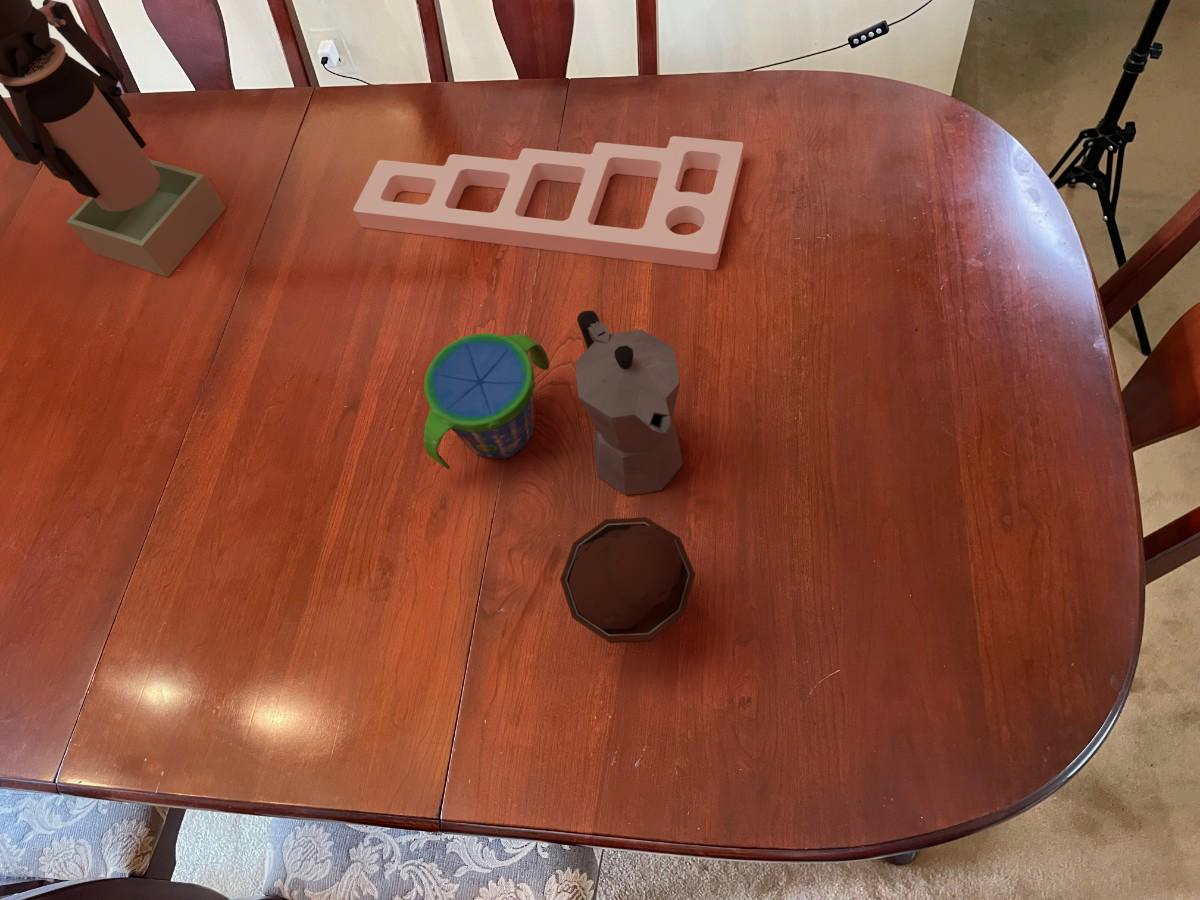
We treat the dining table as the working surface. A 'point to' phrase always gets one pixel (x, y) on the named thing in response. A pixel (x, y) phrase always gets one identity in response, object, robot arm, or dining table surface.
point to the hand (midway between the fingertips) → (113, 168)
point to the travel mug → (87, 130)
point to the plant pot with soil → (627, 580)
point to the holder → (579, 228)
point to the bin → (153, 222)
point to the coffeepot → (629, 405)
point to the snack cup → (483, 394)
